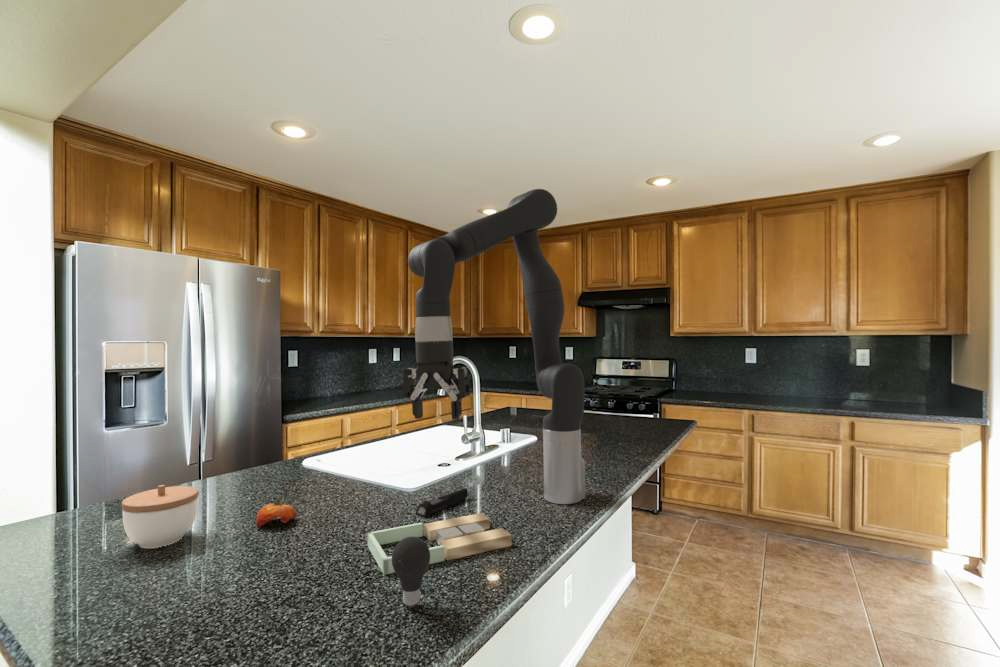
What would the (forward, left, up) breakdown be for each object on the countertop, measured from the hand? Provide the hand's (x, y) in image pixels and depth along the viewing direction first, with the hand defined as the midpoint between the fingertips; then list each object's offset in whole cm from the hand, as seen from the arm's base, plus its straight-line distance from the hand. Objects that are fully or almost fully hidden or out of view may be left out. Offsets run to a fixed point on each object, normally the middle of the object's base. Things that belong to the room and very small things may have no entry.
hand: (436, 418), depth 99 cm
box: (+9, +6, -23) cm, 25 cm away
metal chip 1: (0, +6, -24) cm, 24 cm away
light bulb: (+13, +24, -24) cm, 36 cm away
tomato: (+29, -22, -24) cm, 43 cm away
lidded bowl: (+50, -23, -24) cm, 60 cm away
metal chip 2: (-5, +6, -24) cm, 25 cm away
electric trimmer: (-6, -14, -24) cm, 28 cm away
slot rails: (-4, +6, -23) cm, 24 cm away
